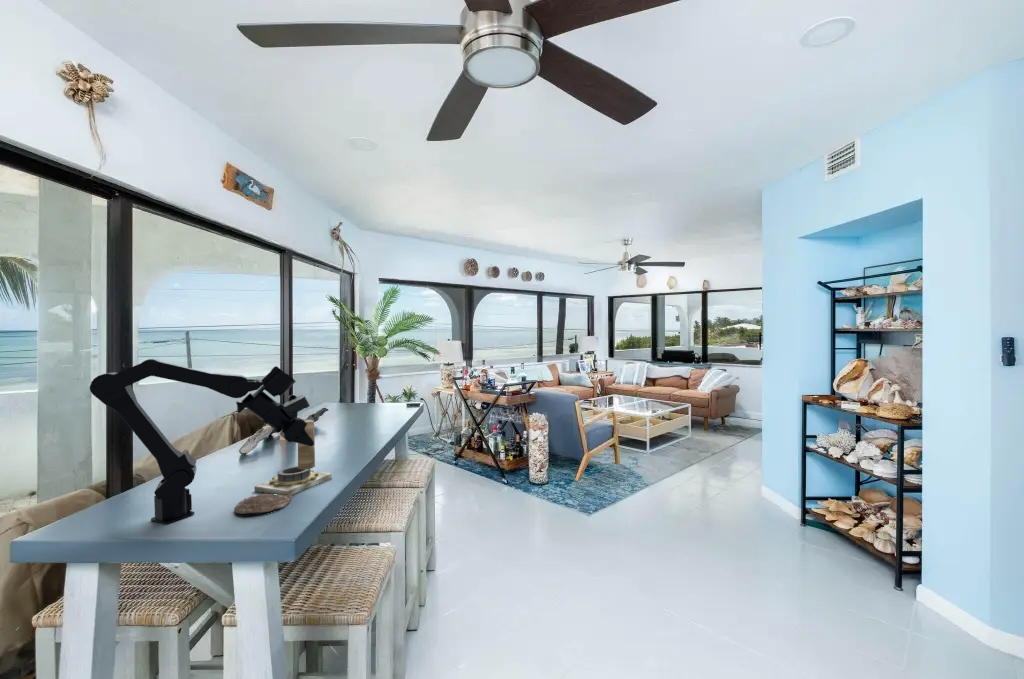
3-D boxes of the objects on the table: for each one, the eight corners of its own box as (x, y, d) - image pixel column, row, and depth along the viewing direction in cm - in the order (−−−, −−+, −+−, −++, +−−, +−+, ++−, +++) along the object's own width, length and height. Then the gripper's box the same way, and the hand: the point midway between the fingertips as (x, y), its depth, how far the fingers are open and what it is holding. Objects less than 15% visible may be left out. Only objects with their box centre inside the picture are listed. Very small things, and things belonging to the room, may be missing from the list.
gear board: (287, 496, 122) (287, 481, 122) (254, 491, 127) (254, 476, 127) (331, 478, 137) (331, 464, 136) (300, 474, 142) (300, 460, 141)
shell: (284, 514, 111) (283, 500, 111) (226, 521, 107) (225, 506, 107) (293, 498, 122) (293, 485, 122) (241, 504, 118) (241, 490, 118)
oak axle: (305, 470, 123) (304, 423, 123) (294, 468, 125) (293, 422, 125) (318, 465, 127) (317, 420, 127) (307, 464, 129) (306, 419, 129)
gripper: (297, 389, 116) (341, 425, 123) (282, 384, 131) (322, 416, 138) (264, 423, 112) (312, 459, 119) (252, 413, 126) (295, 446, 133)
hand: (311, 443), depth 127 cm, fingers closed on oak axle, 4 cm apart
